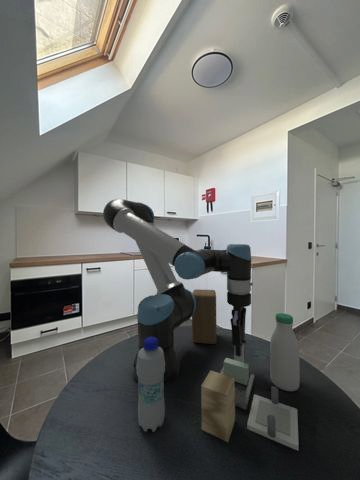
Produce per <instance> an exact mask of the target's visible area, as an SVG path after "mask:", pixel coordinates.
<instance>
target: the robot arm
mask: <svg viewBox="0 0 360 480" xmlns="http://www.w3.org/2000/svg"><path fill="white" fill-rule="evenodd" d="M102 213H103V214H102V215H103V216H102V217H103V220H104V221H105V223H106V225H107V226H108V227H110V228H111V229H112V230H114V231H115V232H116V233H120V234H122V233H123V234H125V235H126V236H128V237H129V238H130V239H132V240H134V241H135V243H136V245H137V247H138V250H139V252H140V254H141V256H142V259H143V261H144V264H145V265H146V267H147V268H146V269H147V270H148V272H149V275H150V277H151V279H152V282H153V283H154V285H155V288H156V289H157V290H156V294H154V295H148V296H146V297H144V298H142V299H141V300H140V301H139V304H138V306H137V315H136V318H137V345H138V346H137V350H136V354H135V358H134V360H133V364H132V376H133V377H132V378H133V379H134V380H135V381H136V382H137V383H138V376H137V369H136V365H137V358H138V352H139V351H140V350H141V349H142V348H144V340H145V339H146V338H148V337H156V338H157V339H158V347H160V348H162V350H163V352H164V359H165V372H164V385H168V384H170V383H171V382H173V381H174V380H175V379H177V377H178V375H179V373H180V360H179V357H178V354H177V350H176V348H175V330H177V329H178V328H179V327H180V326H181V325H182V324H184V323H185V322H188V321H189V320H190V319H192V316H193V314H194V313H195V310H196V299H195V296H194V295H193V291H191V290H188V289H186V288H185V286H184V284H183V282H181V281H179V280H177V277H176V276H175V274H174V272H173V269H172V268H171V267H174V271H175V272H176V274H177V276H178V277H180V279H183V280H186V281H187V280H193V279H198V278H199V277H201V276H204V275H206V274H209V273H211V272H215V273H218V272H219V273H226V274H227V275H226V290H227V292H226V302H227V304H228V305H230V306H232V308H233V309H231V317H230V326H231V327H230V328H231V339H232V340H231V341H232V342H231V345H232V346H233V348H234V349H233V353H234V354H233V360H236V361H240V362H243V363H245V361H244V360H245V359H244V358H245V357H244V356H245V354H244V352H245V348H244V344H247V340H245V338H246V316H247V315H246V314H247V307H250V306H251V304H252V293H251V291H252V286H254V282H251V281H252V260H253V259H252V252H251V251H252V250H251V246H250V245H249V244H246V243H245V244H243V243H236V244H235V243H229V244H227V246H226V248H225V249H209V248H201V249H200V248H199V249H194V248H192V247H190V246H188V245H187V244H185V243H184V242H182V241H180V240H178V239H176V238H174V236H171V235H170V234H168V233H166V232H164V231H163V230H162V229H160V228H158V227H156V226H155V224H154V223H155V213H154V211H153V209H152V208H151V207H150V206H149V205H147V204H145V203H143V202H139V201H138V202H136V201H131V200H128V199H123V198H115V199H112V200H110V201H108V202H107V203H106V204H105V206H104V209H103V211H102Z"/></svg>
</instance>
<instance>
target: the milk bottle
mask: <svg viewBox="0 0 360 480" xmlns="http://www.w3.org/2000/svg"><path fill="white" fill-rule="evenodd" d="M275 324H276V325H275V328H274V330H273V332H272V334H271V337H270V342H269V343H270V345H269V349H270V350H269V351H270V352H269V363H270V365H269V367H270V368H269V370H270V371H269V372H270V378H269V379H270V380H271V383H273V386H275V387H277V388H278V389H281V390H283V391H286V392H295V391H297V390H298V389H299V387H300V373H301V372H300V347H299V346H300V345H299V342H298V338H297V336H296V334H295V332H294V329H293V325H294V318H293V316H292V315H291V314H288V313H282V312H281V313H280V312H279V313H276V314H275Z"/></svg>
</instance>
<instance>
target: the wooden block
mask: <svg viewBox="0 0 360 480" xmlns="http://www.w3.org/2000/svg"><path fill="white" fill-rule="evenodd" d="M192 293H193V295H194V296H195V299H196V310H195V313H194V314H193V316H191V341H192V343H194V344H210V345H214V344H215V345H216V344H217V338H218V337H217V335H218V334H217V293H216V290H215V289H198V288H197V289H196V288H195V289H193V291H192Z"/></svg>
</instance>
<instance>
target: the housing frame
mask: <svg viewBox="0 0 360 480" xmlns="http://www.w3.org/2000/svg"><path fill="white" fill-rule="evenodd" d="M219 373H220V374H223V375H224V365H223V366H222V368H221V370H220V372H219ZM254 382H255V374H252V373H251V374H250V375H249V382H248V385H246V389H245V390H244V389H240V388H238V387H235V407H238V408H240V409H241V410H244V411H247V409H248V404H249V401H250V397H251V392H252V390H253V385H254Z"/></svg>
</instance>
